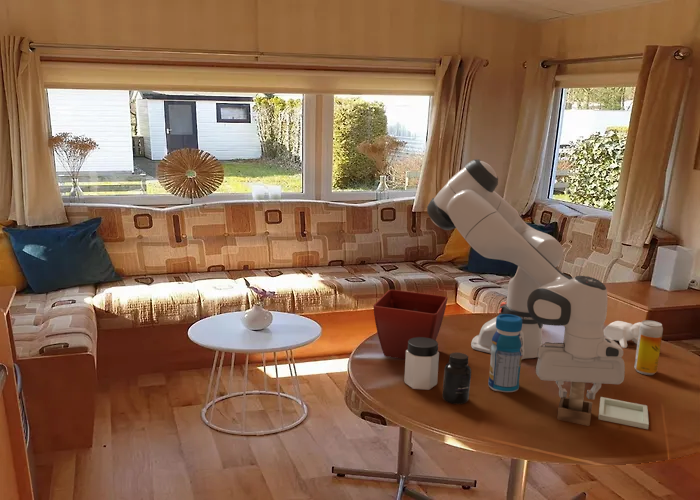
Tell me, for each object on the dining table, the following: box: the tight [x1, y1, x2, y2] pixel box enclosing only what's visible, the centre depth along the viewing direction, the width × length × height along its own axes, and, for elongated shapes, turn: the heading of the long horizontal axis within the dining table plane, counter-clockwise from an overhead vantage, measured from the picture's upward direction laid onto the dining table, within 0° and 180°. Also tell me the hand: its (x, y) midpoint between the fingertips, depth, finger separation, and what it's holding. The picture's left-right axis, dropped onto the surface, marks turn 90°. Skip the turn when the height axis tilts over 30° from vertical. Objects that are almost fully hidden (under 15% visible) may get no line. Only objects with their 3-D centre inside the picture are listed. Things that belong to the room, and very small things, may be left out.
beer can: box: [634, 319, 664, 376], centre depth 181 cm, size 6×6×15 cm
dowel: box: [568, 382, 586, 412], centre depth 151 cm, size 3×3×10 cm
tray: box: [598, 396, 650, 430], centre depth 154 cm, size 11×11×2 cm
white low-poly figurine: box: [603, 320, 642, 349], centre depth 205 cm, size 9×8×15 cm
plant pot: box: [373, 289, 449, 360], centre depth 190 cm, size 19×19×17 cm
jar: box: [403, 337, 440, 391], centre depth 168 cm, size 9×8×12 cm
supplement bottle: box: [441, 352, 472, 405], centre depth 160 cm, size 7×7×12 cm
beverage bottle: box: [487, 314, 523, 393], centre depth 166 cm, size 8×8×20 cm
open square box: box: [556, 396, 593, 427], centre depth 152 cm, size 7×7×4 cm
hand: (576, 397), depth 151 cm, fingers open, 5 cm apart
